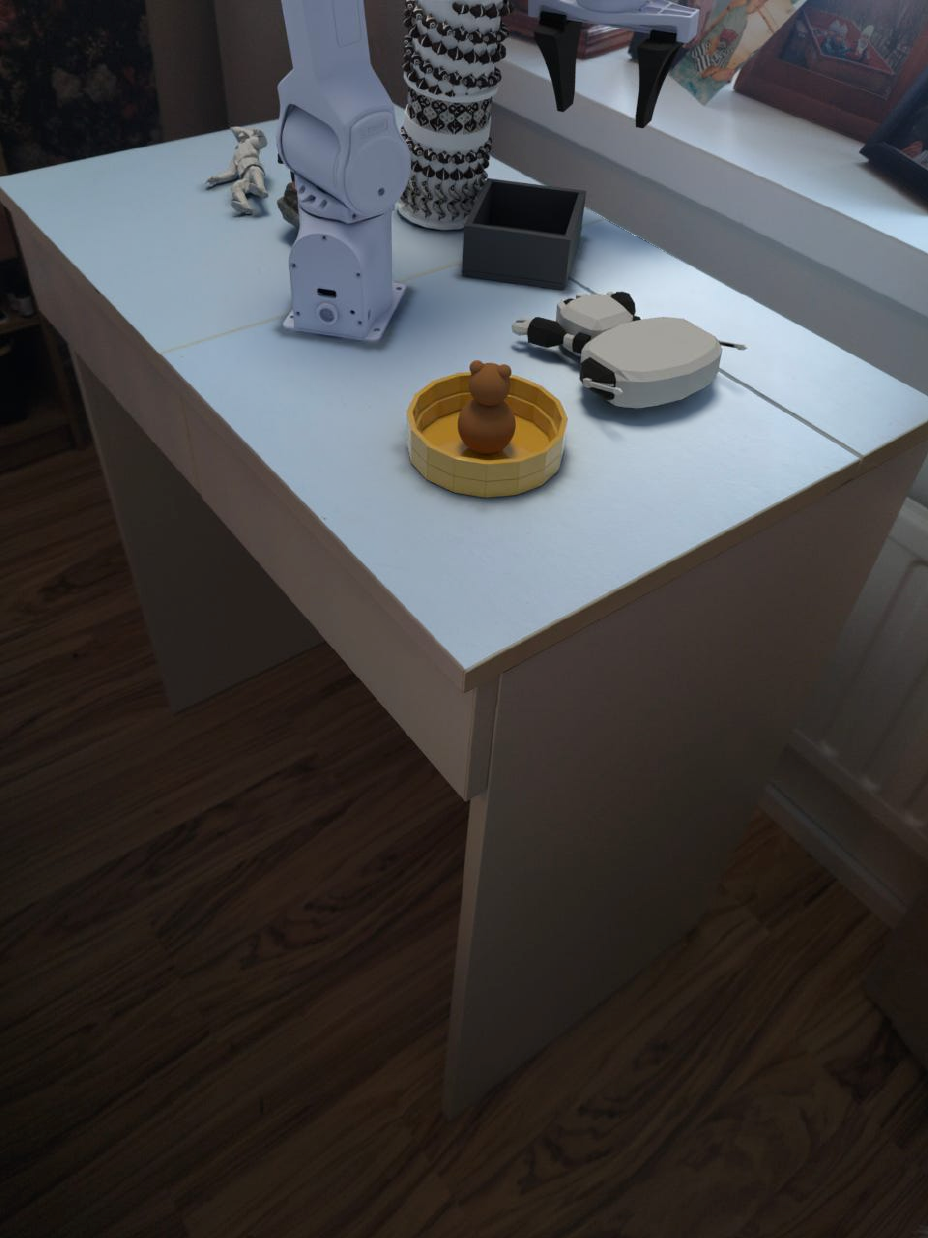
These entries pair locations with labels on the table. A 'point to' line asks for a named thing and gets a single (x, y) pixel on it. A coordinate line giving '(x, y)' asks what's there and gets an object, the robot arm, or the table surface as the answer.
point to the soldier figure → (245, 168)
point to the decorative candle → (449, 105)
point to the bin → (523, 233)
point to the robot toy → (629, 349)
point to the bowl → (475, 473)
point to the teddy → (487, 409)
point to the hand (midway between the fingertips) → (603, 115)
